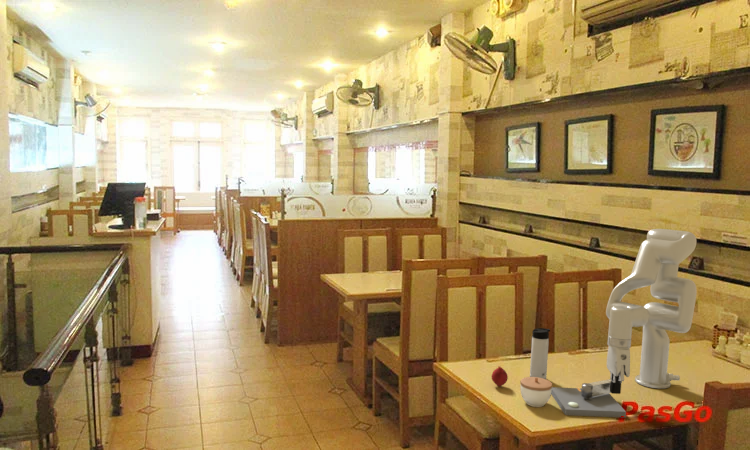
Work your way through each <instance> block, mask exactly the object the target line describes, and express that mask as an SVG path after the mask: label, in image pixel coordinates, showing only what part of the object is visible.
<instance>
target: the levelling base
mask: <svg viewBox="0 0 750 450" xmlns="http://www.w3.org/2000/svg"><path fill="white" fill-rule="evenodd" d="M581 391H582V387H581V388H580V387H575V388H574V387H557V386H556V387H555V386H554V387H553V386H552V390H551V396H552V397H553V400H554V401H555V402H556V403H557V405H558V406H559V408H560V410H561V411H562V412H563V414H564V416H578V417H580V416H582V417H584V416H585V417H607V418H608V417H609V418H622V417H621V416H624V417H623V418H626V417H627V416H626V415H627V411H626V409H624V408H623V407H622V405H621V404H619V402H618V401H617V399H615V398H614V397H613V396H612V395H611V393H608V394H603V395H598V396H593V397H592V398H590V399H584V397H582V396H581Z"/></svg>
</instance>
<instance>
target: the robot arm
mask: <svg viewBox="0 0 750 450" xmlns="http://www.w3.org/2000/svg"><path fill="white" fill-rule="evenodd" d="M696 246H697V237H696V235H695V233H693V232H690V231H686V230H676V229H670V228H669V229H668V228H667V229H666V228H652V229H650V230H649V231H648V232H647V234H646V239H645V240H644V241H642V242H641V244H640V247H639V249H638V252H637V255H636V258H635V262H634V264H633V267H632V270H631V273H630V274H629V275H628V276H627V277H625V278H624V279H622V280H621V281H619V283H617V285H615V286H614V288H613V289H612V290H611V293H610V296H609V297H608V298H609V299H608V301H607V305H606V309H605V315H606V317H607V318H608V320H609V321H608V322H609V323H608V332H607V334H608V335H607V346H608V349H607V355H606V368H607V370H608V371H609V373H610V378H609V379H610V380H611V382H610V392H611V393H610V394H614V395H615V394H616V395H620V394H621V392H622V383H623V382H624V381H625V377H626V378H629V377H630V374H631V351H630V350H631V346H632V345H631V344H632V335H633V334H632V331H633V327H636V328H639V327H642V339H641V340H642V341H641V353H640V365H639V374H638V375H637V374H636V375H635V377H634V381H635V382H636V383H637V384H639V385H641V386H643V387H646V388H652V389H659V390H660V389H661V390H662V389H668V388H670V387H671V385H672V383H671V381H680V380H681V377H680V375H679V374H678V375H677V374H673V373H669V372H668V367H669V366H668V365H669V355H670V354H669V350H670V343H671V342H670V338H669V335H668V333H667V331H670V332H675V333H680V334H685V333H688V332H689V331H690V329H691V328H692V324H693V319H694V318H693V317H694V314H695V313H694V312H695V305H696V300H697V295H698V294H697V290H698V289H697V285H696V283H695V282H694V281H693V280H692V279H690V278H685V277H681V276H679V277H678V272H679V268H680V266H679V265H680V264H681V263H682V262H684V261H685V260H686V259H687V258H688V257H689V256H690V255H691V254H692V253H693V252H694V251H695V249H696ZM649 286H650V295H651V296H652V297H653V298H655V299H657V300H661V301H665V302H666V301H667V302H672V303H677V304H678V306H677V305H672V304H669V303H668V304H667V303H662V302H658V301H657V302H654V301H651V302H647V303H646V304H644V305H639V304H636V303H629V302H626V301H625V302H624V301H622V299H623V298H624V297H625V295H627V294H628V293H630V292H631V291H634V290H638V289H641V288H646V287H649Z"/></svg>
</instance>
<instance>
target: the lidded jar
mask: <svg viewBox="0 0 750 450" xmlns="http://www.w3.org/2000/svg"><path fill="white" fill-rule="evenodd" d="M519 381H520V394H521V397H522V399H523V401H524V402H525V403H526V405H528V406H530V407H532V408H533V407H534V408H541V407H544V406H545V405H546V404H547V403H548V402H549V401H550V398H551V396H552V394H551V390H552V387H553V383H552V382H551V381H550V380H549V379H547V378H546V379H543V378H538V377H530V376H526V377H523V378H521V379H520V380H519Z"/></svg>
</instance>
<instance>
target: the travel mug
mask: <svg viewBox="0 0 750 450" xmlns="http://www.w3.org/2000/svg"><path fill="white" fill-rule="evenodd" d="M550 332H551V329H550V328H545V327H544V328H543V327H541V328H540V327H539V328H534V329H533V330H532V336H531V350H530V365H529V367H530V369H529V377H538V378H543V379H546V380H547V375H548V374H547V372H548V358H549V339H550V337H549V335H550Z"/></svg>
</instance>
